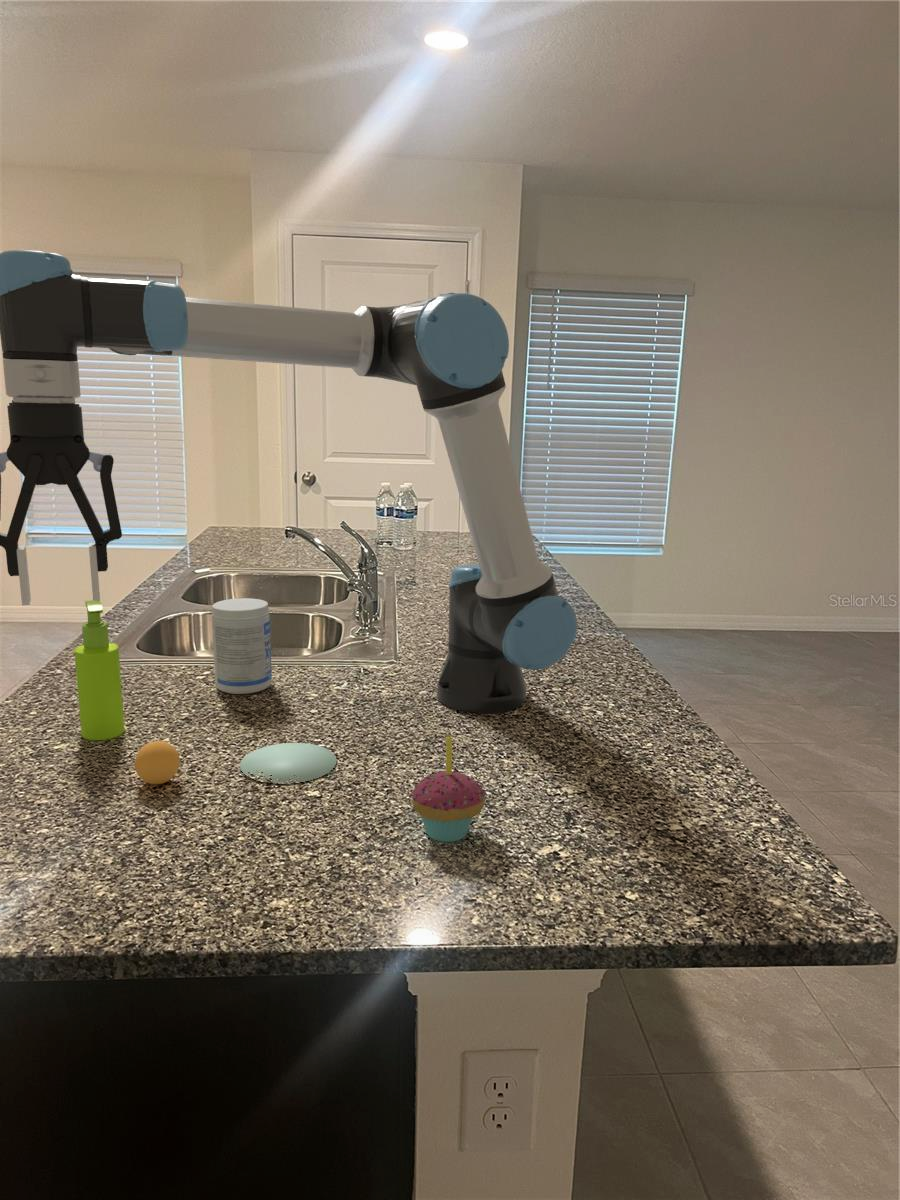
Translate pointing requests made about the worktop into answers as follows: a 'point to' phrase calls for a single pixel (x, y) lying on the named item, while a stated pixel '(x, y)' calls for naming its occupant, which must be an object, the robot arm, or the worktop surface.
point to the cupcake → (448, 801)
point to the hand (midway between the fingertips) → (62, 600)
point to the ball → (157, 762)
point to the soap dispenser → (98, 679)
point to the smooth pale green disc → (289, 762)
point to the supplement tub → (242, 645)
